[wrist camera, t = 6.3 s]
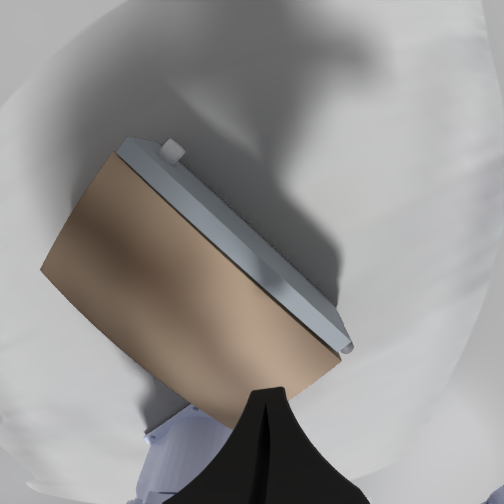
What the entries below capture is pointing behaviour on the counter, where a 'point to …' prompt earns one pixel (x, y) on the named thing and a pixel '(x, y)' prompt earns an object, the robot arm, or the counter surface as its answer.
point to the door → (234, 236)
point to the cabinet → (178, 299)
